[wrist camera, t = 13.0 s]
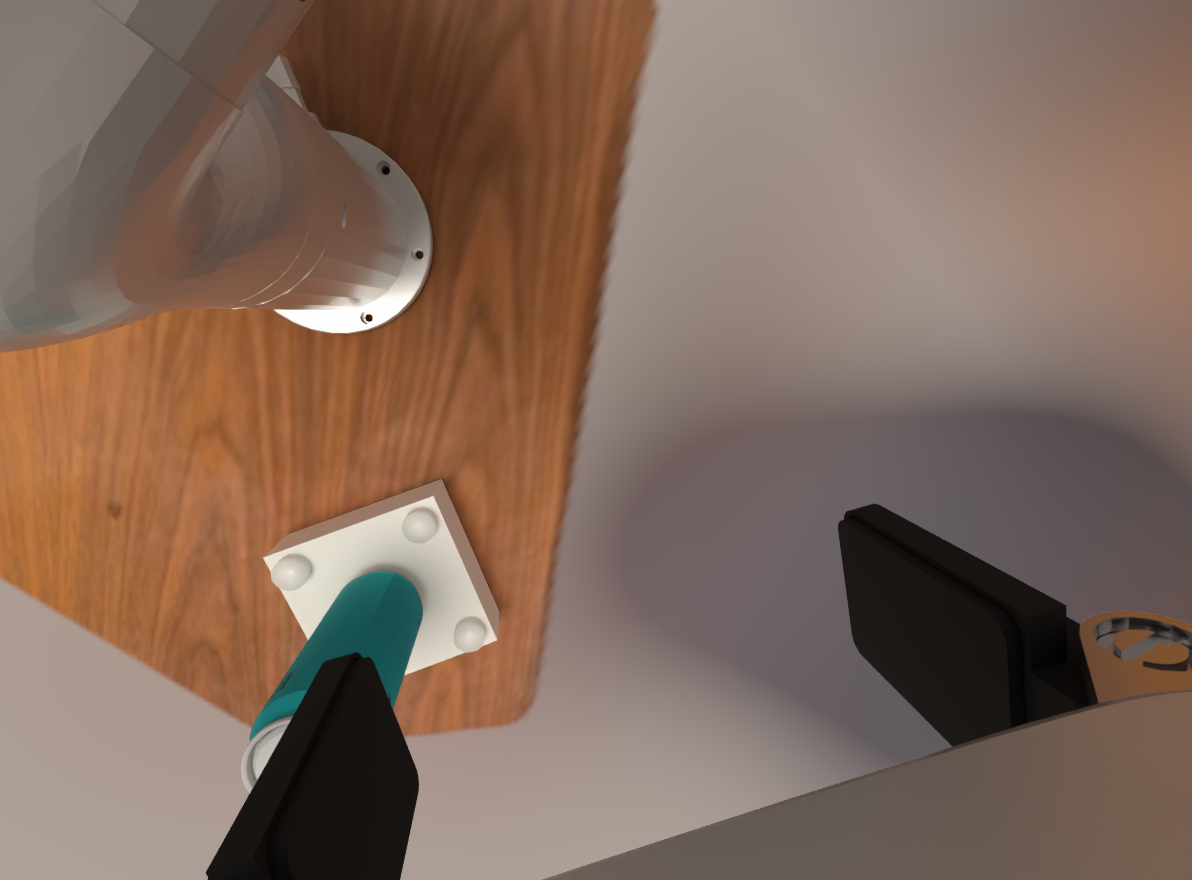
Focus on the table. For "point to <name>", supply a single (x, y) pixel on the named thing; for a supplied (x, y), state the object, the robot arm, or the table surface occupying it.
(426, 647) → the brick
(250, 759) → the beverage can
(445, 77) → the table surface
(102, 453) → the table surface
